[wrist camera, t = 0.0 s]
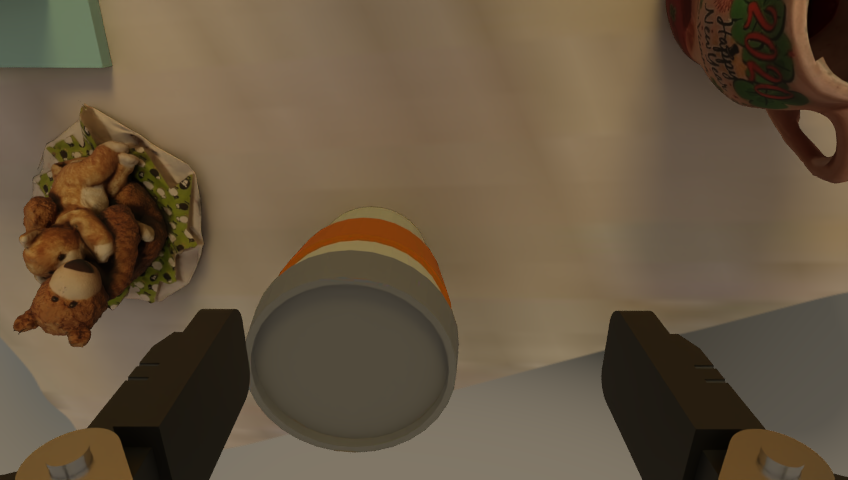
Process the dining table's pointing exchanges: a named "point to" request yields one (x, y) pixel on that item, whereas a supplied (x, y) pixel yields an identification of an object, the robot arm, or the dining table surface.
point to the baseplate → (52, 34)
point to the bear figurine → (106, 226)
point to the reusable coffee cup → (355, 336)
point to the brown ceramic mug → (775, 63)
